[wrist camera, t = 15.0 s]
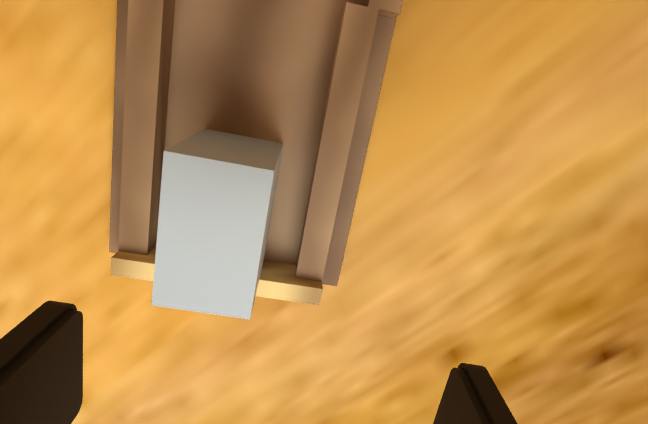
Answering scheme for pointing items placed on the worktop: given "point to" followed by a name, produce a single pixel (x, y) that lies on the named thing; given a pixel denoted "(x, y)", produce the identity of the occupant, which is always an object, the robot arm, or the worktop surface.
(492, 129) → the worktop surface
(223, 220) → the panel block
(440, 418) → the robot arm
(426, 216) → the worktop surface
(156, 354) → the worktop surface
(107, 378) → the worktop surface
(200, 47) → the board
